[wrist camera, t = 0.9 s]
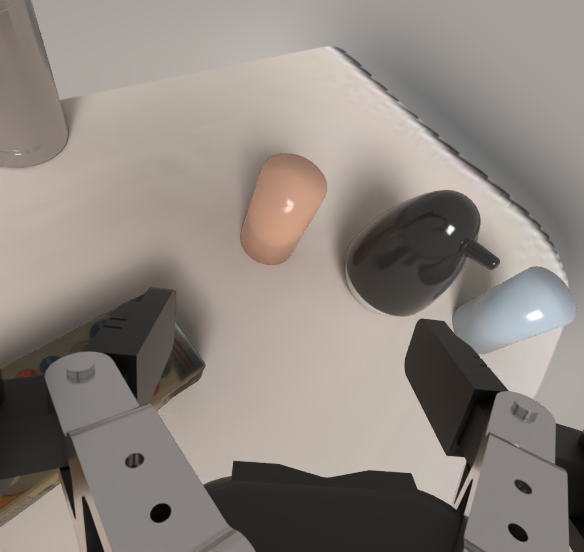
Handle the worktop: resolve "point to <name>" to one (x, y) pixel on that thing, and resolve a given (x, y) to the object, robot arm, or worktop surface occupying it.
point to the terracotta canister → (282, 207)
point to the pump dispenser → (415, 253)
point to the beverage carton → (174, 379)
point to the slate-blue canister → (515, 311)
